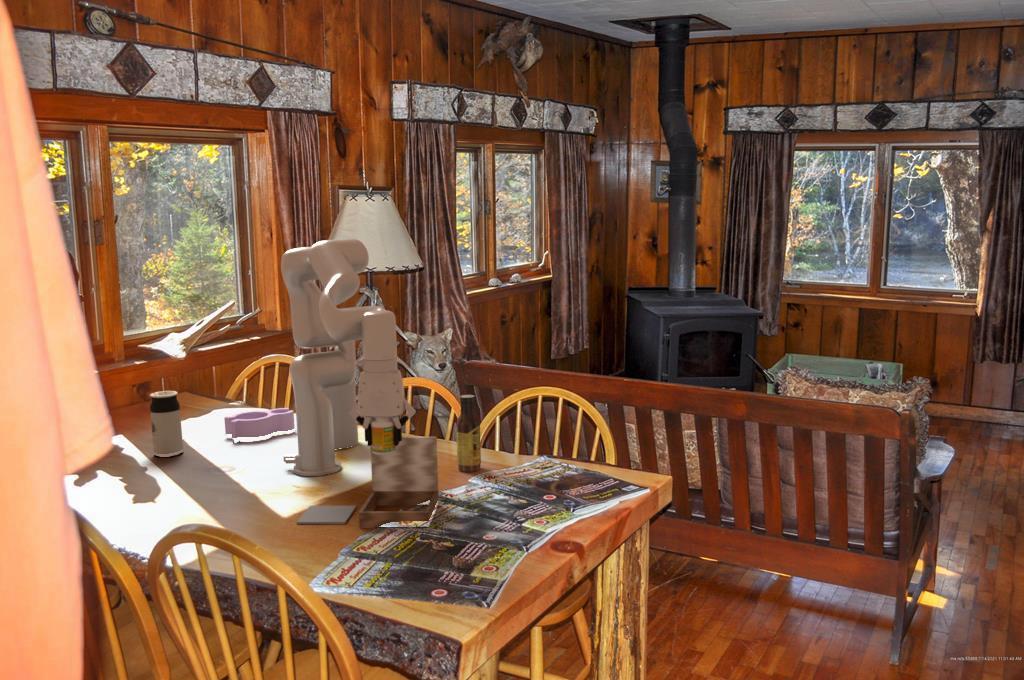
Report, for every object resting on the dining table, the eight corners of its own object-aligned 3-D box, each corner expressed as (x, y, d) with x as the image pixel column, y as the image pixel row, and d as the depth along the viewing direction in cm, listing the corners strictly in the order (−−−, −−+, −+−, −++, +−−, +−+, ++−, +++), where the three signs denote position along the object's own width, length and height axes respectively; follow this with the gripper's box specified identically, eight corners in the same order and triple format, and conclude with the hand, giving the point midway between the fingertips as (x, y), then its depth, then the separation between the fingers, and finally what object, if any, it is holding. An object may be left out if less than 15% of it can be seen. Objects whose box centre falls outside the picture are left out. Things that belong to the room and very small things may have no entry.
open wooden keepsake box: (359, 527, 208) (355, 455, 206) (373, 504, 224) (370, 437, 221) (429, 527, 207) (426, 455, 205) (439, 504, 223) (436, 436, 220)
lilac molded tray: (285, 427, 301) (283, 406, 300) (300, 434, 291) (298, 413, 290) (222, 437, 290) (221, 415, 289) (236, 445, 280) (234, 423, 279)
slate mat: (296, 524, 211) (296, 522, 211) (310, 507, 222) (310, 505, 222) (345, 524, 211) (345, 521, 211) (356, 507, 222) (356, 505, 222)
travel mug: (183, 449, 277) (178, 389, 274) (183, 456, 269) (178, 394, 266) (154, 452, 274) (149, 391, 271) (153, 459, 267) (148, 397, 264)
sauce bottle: (478, 473, 246) (475, 399, 243) (454, 472, 248) (452, 398, 244) (483, 466, 253) (481, 393, 250) (461, 465, 254) (458, 393, 251)
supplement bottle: (386, 456, 210) (384, 414, 208) (367, 453, 213) (365, 411, 211) (400, 450, 214) (399, 409, 213) (382, 447, 217) (380, 406, 216)
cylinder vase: (365, 445, 276) (361, 362, 272) (325, 453, 269) (320, 367, 265) (347, 437, 286) (343, 356, 282) (308, 444, 279) (303, 361, 275)
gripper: (338, 369, 207) (342, 449, 210) (416, 368, 206) (419, 448, 209) (346, 363, 214) (349, 440, 217) (421, 362, 213) (423, 439, 216)
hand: (383, 443), depth 213 cm, fingers closed on supplement bottle, 5 cm apart
